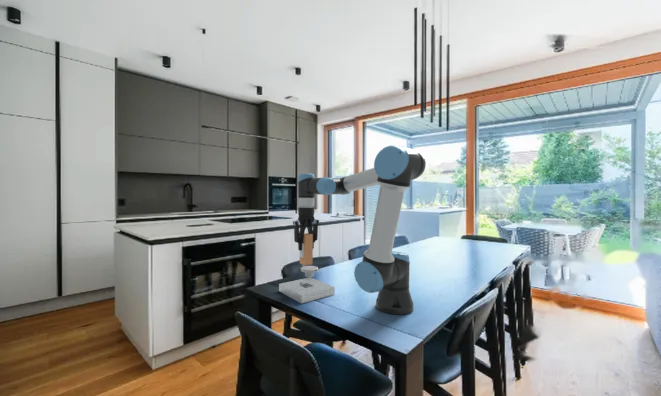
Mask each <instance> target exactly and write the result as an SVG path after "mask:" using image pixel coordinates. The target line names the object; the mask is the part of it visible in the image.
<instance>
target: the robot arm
mask: <svg viewBox="0 0 661 396" xmlns="http://www.w3.org/2000/svg"><path fill="white" fill-rule="evenodd" d="M426 163H427V162H426V159H425V156H424V155H423V154H422V152H420V150H417V149H415V148H414V149H413V148H409V147H405V146H403V145H401V146H400V145H387V146H385V147H383V148H381V150H379V151H378V153H377V154H376V155H375V158H374V161H373V167H372V168H369V169H365V170H362V171H359V172H355V173H353V174H349V175H346V176H343V177H340V178H338V177H337V178H334V177H325V176H322V177H315V174H314V173H299V175H298V179H297V180H298V182H297V185H298V188H297V190H298V193H297V194H298V199H297V201H298V202H297V203H298V204H297V205H298V208H297V214H298V218H297V219H296V220H293V221H292V224H293V229H294V230H293V235H294V236H293V238H294V243H297V248H298V249H297V250H298V251H299V258H300V257H302V258H304V244H303V238H304V233H306V231H305V230H306V229H307V233H309V234H313V249H314V248H315V246H314V245H315V243H316V241H318V235H319V234H318V233H319V232H318V230H319V223H320V219H316V218H315V216H314V215H315V207H314V206H315V195H323V196H329V195H348V194H350V193H352V192H355V191H361V190H364V189H367V188H371V187H375V186H379V190H378V191H379V193H378V198H377V203H376V208H375V213H374V219H373V223H372V224H373V225H372V229H371V235H370V238H369V240H370V241H369V246H368V248H367V249H366V250H365V251H364V252H363V254H362V260H361V261H360V262H359V263H358V264H356V266H355V267H354V272H353V273H354V278H355V279H354V280H355V282H356V283H357V285H358V286H359V288H360V289H361V290H363V292H366V293H369V294H371V293H372V294H374V293H377V292H378V293H377V297H376V301H375V308H376V309H377V310H378V311H381V312H383V313H386V314H389V315H390V314H391V315H406V314H411V313H412V312H413V311H414V302H413V301H414V300H413V299H412V295H411V294H412V293H411V292H410V264H411V262H410V256H409V254H408V253H405V252H402V251H396V250H393V248H394V243H395V238H396V233H397V229H398V223H399V219H400V214H401V209H402V206H403V205H402V204H403V200H404V195H405V194H404V193H405V191H407V190H408V189H409V188H410V187H411V182H412V180H416V179H418V178H420V177H421V176H422V175H423V173H424V172H425V170H426Z"/></svg>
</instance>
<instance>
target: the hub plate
mask: <svg viewBox="0 0 661 396" xmlns="http://www.w3.org/2000/svg"><path fill="white" fill-rule="evenodd" d="M335 289H336V288H335V286H333V285H331V284H328V283H326V282H323V281H320V280H319V279H315V278H313V277H309V278H307V277H305V278H299V279H295V280H292V281H287V282H282V283H279V284H278V291H279V292H280V293H282V294H283V295H285V296H287V297H288V298H290V299H293V300H294V301H297V303H300V304H301V305H302V304H305V303H309V302H313V301H316V300H320V299H325V298H327V297H331V296H334V295H336V293H335Z"/></svg>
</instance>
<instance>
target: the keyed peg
mask: <svg viewBox="0 0 661 396" xmlns="http://www.w3.org/2000/svg"><path fill="white" fill-rule="evenodd" d="M303 244H304V258H302V257H300V256H299V264H300V265H304V266H311V265H313V261H314V260H313V257H314V255H313V252H314V248H313V234H309V233H308V232H304V238H303Z"/></svg>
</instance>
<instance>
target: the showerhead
mask: <svg viewBox="0 0 661 396" xmlns="http://www.w3.org/2000/svg"><path fill="white" fill-rule="evenodd" d="M318 271H319V267H318V266H316V265H303V264H301V267H300V272H301V273H304V277H305V278H309V277H311V278H313V277H314V276H315V273H317V272H318Z"/></svg>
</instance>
